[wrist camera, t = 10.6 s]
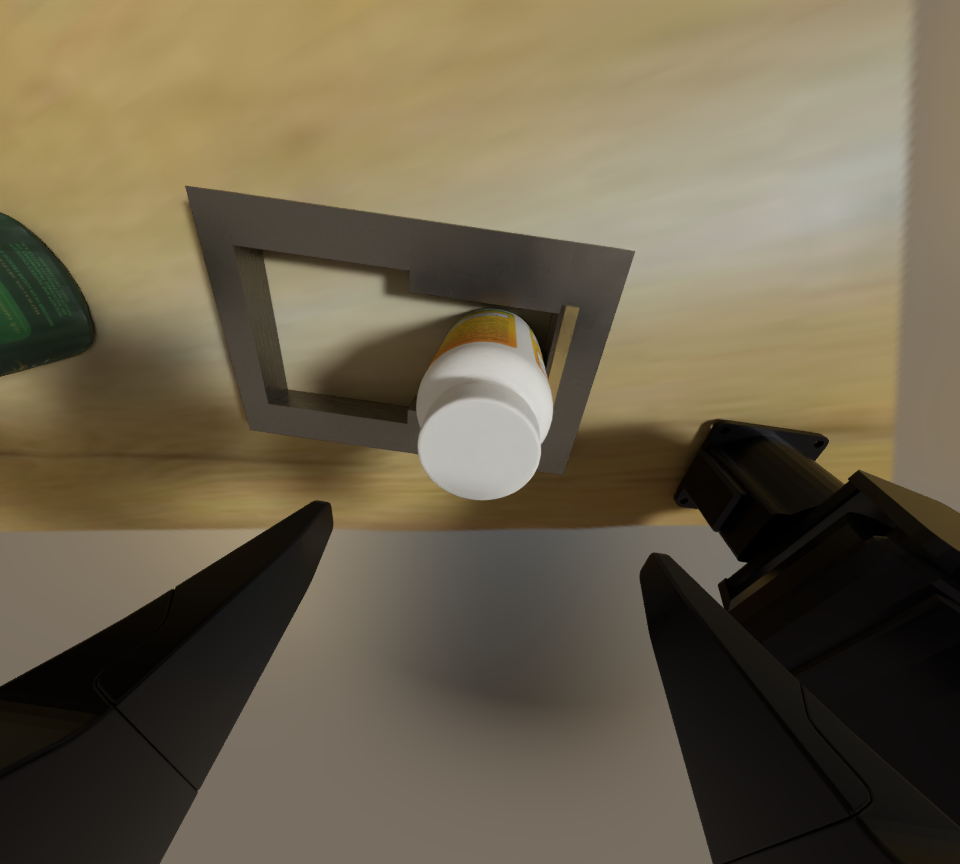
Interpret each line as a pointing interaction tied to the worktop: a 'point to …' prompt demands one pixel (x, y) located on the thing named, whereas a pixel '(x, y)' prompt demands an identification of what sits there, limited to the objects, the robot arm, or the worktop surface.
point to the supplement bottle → (484, 407)
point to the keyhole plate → (433, 271)
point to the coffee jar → (37, 304)
